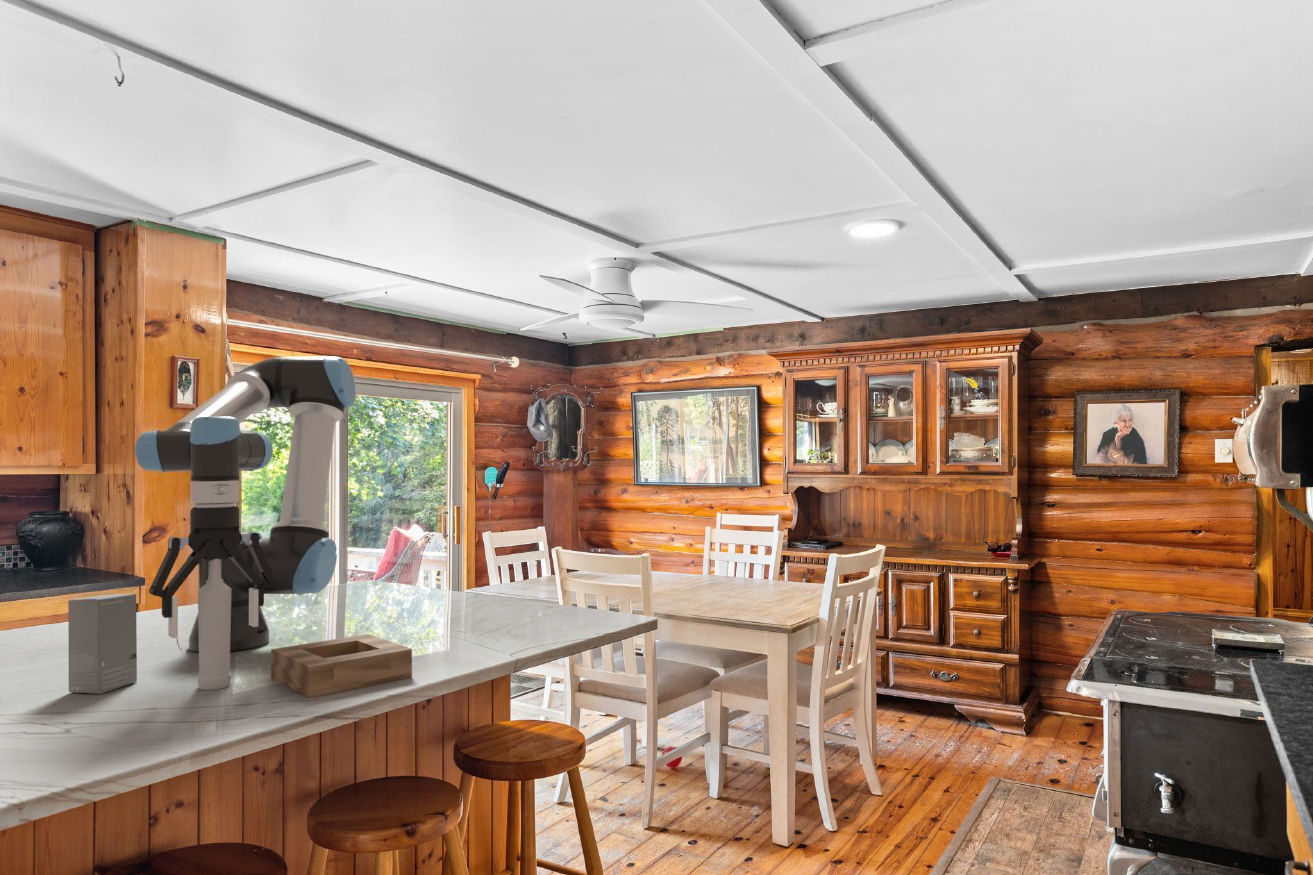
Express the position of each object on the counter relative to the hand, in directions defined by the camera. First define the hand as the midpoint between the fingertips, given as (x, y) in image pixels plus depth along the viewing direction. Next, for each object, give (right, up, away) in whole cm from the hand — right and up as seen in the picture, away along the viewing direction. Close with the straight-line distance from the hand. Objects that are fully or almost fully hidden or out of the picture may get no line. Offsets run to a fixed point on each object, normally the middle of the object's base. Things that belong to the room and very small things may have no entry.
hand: (214, 631), depth 143 cm
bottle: (0, -10, 0) cm, 10 cm away
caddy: (+20, -9, +5) cm, 23 cm away
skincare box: (-19, -10, 0) cm, 21 cm away
